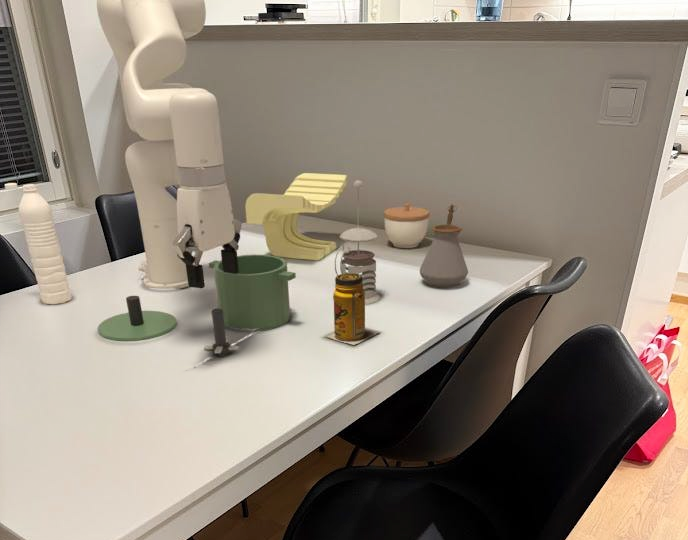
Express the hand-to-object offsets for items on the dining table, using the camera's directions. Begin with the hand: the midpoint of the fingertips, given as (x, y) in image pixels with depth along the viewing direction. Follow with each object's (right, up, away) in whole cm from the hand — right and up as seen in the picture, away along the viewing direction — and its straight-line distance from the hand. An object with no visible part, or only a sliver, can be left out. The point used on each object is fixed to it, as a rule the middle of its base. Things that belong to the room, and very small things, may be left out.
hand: (214, 279), depth 121 cm
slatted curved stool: (+11, +25, +67) cm, 73 cm away
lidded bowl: (+41, +29, +72) cm, 87 cm away
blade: (0, -12, +8) cm, 14 cm away
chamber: (+4, -2, +23) cm, 24 cm away
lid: (-19, -5, +18) cm, 27 cm away
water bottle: (-44, +5, +35) cm, 57 cm away
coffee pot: (+48, +13, +46) cm, 68 cm away
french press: (+26, +4, +33) cm, 42 cm away
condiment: (+25, -7, +14) cm, 30 cm away
